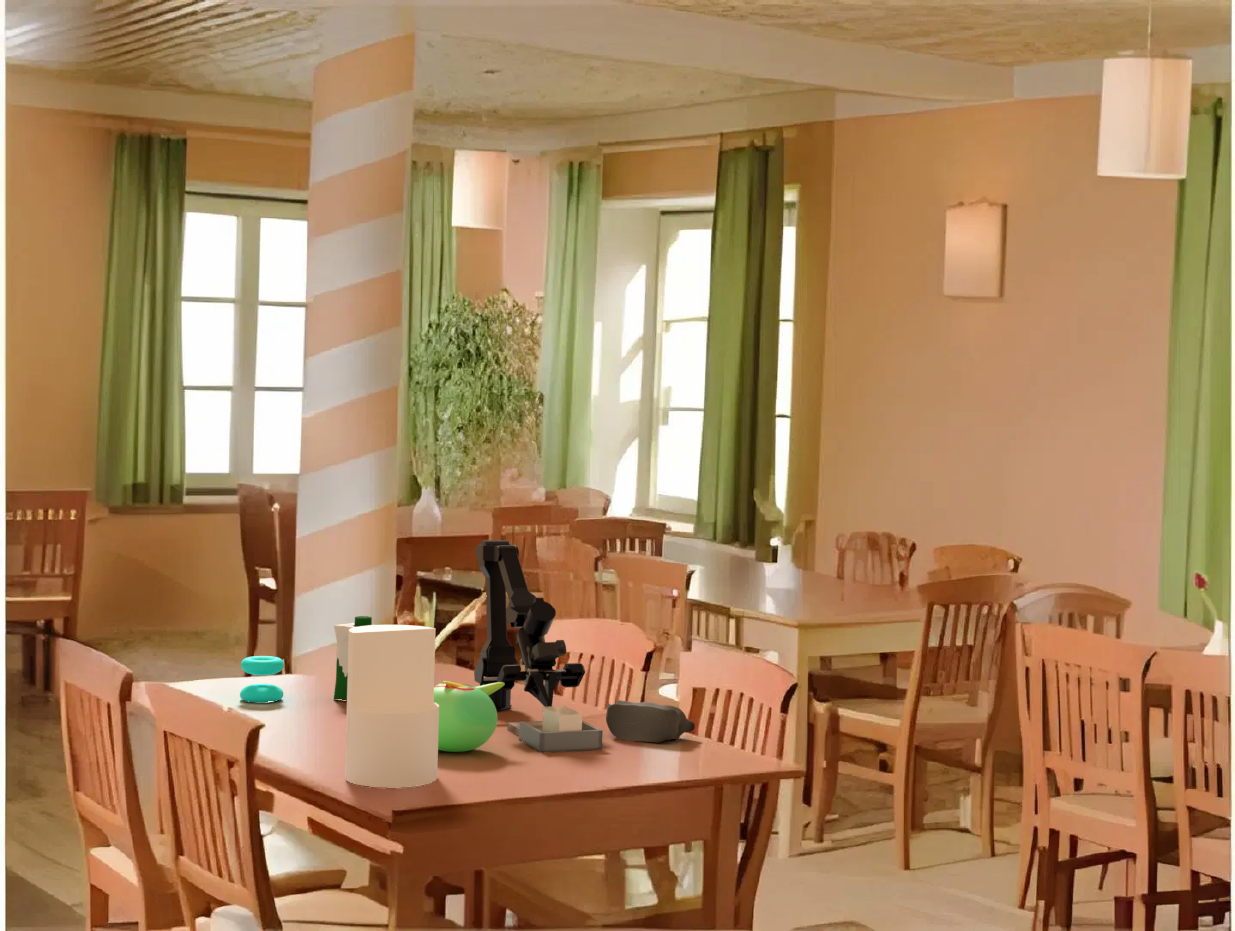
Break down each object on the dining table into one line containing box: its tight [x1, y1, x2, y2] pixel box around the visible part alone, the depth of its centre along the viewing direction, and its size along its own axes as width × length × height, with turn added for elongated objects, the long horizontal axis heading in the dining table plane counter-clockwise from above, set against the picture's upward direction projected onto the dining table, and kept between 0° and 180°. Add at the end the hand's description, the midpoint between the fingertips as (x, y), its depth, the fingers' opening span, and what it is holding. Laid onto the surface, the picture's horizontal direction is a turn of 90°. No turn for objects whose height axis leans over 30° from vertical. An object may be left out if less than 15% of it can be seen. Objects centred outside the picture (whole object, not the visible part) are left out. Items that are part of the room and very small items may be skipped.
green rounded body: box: [434, 680, 505, 753], centre depth 345 cm, size 18×17×15 cm
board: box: [506, 720, 543, 736], centre depth 366 cm, size 12×11×2 cm
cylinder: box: [344, 624, 439, 787], centre depth 317 cm, size 17×17×28 cm
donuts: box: [239, 655, 285, 703], centre depth 396 cm, size 10×10×10 cm
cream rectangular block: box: [542, 705, 583, 732], centre depth 353 cm, size 7×5×10 cm
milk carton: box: [333, 615, 374, 701], centre depth 400 cm, size 9×9×20 cm
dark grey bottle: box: [605, 699, 696, 744], centre depth 365 cm, size 18×11×8 cm, turn 66°
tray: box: [518, 720, 604, 754], centre depth 354 cm, size 14×14×4 cm
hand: (549, 708), depth 360 cm, fingers closed
